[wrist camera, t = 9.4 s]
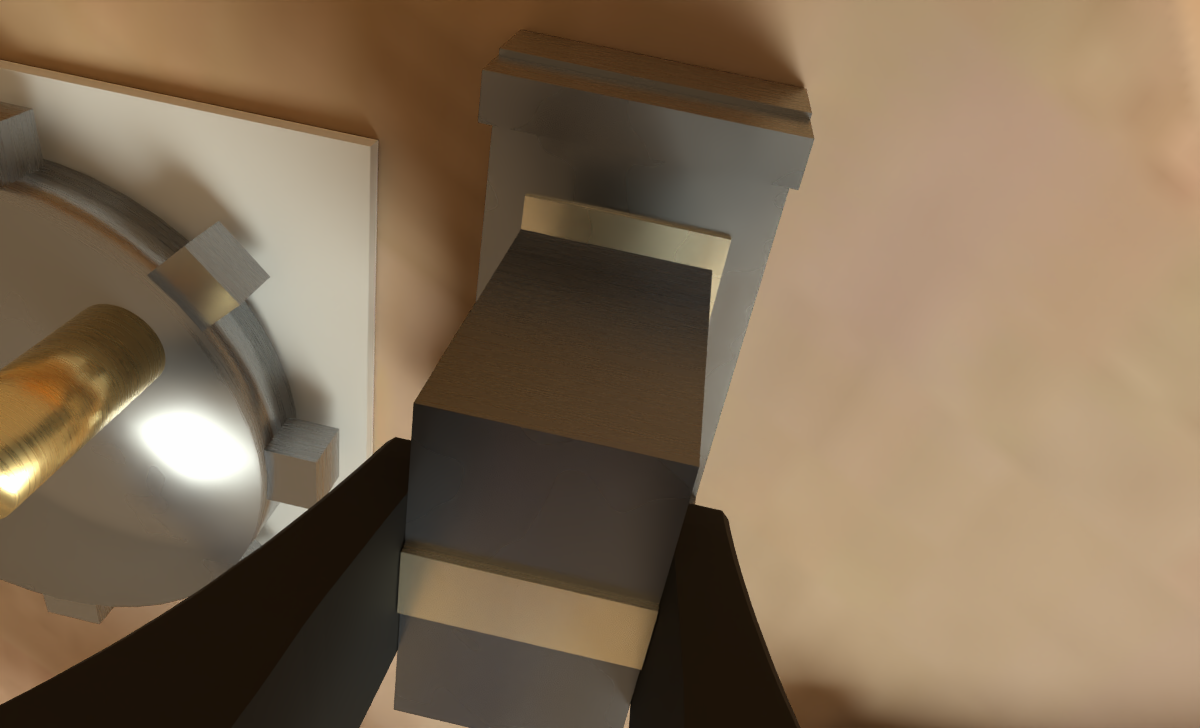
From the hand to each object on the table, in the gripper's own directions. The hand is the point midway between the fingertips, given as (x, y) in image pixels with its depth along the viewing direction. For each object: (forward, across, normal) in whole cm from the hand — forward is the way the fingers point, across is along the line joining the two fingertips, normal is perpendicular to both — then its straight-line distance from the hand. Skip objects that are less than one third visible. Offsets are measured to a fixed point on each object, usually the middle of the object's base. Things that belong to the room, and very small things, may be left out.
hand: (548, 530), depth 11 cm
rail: (+7, 0, 0) cm, 7 cm away
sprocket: (+7, +12, +5) cm, 15 cm away
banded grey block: (+4, 0, 0) cm, 4 cm away
